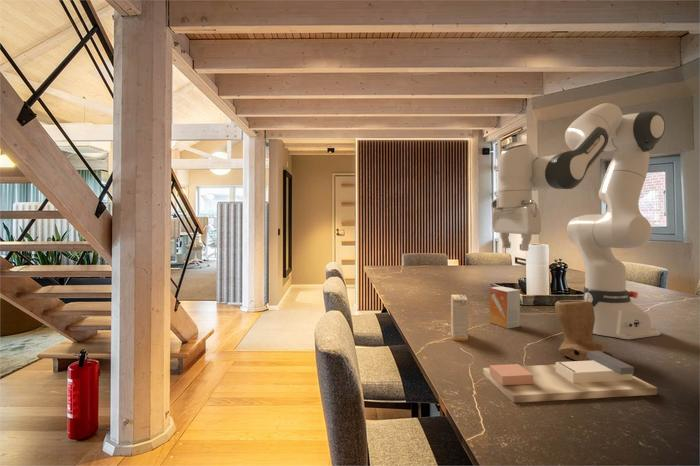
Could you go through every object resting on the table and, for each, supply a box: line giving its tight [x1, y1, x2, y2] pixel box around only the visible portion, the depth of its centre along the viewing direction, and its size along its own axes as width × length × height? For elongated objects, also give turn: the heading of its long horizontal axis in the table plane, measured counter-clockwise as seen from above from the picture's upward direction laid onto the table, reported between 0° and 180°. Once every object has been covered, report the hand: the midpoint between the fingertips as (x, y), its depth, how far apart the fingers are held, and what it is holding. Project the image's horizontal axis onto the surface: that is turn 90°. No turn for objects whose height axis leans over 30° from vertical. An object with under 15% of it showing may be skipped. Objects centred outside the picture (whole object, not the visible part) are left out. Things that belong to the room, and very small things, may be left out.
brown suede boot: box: [554, 299, 605, 361], centre depth 101 cm, size 15×12×15 cm
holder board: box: [482, 364, 658, 403], centre depth 83 cm, size 32×14×2 cm, turn 95°
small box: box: [489, 285, 521, 329], centre depth 129 cm, size 8×6×13 cm
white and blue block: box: [555, 351, 635, 383], centre depth 83 cm, size 14×10×4 cm
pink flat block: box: [489, 363, 533, 385], centre depth 82 cm, size 7×6×2 cm
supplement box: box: [450, 294, 469, 342], centre depth 117 cm, size 8×5×13 cm, turn 168°
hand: (514, 249), depth 105 cm, fingers open, 8 cm apart
